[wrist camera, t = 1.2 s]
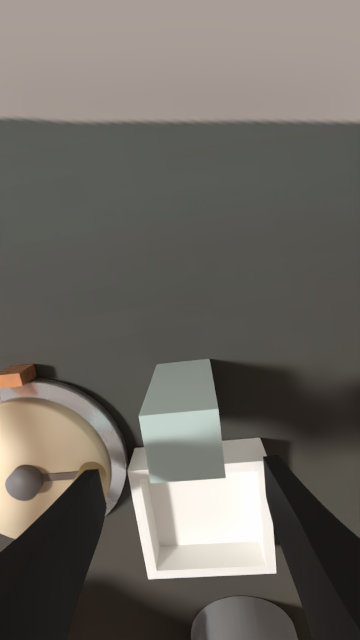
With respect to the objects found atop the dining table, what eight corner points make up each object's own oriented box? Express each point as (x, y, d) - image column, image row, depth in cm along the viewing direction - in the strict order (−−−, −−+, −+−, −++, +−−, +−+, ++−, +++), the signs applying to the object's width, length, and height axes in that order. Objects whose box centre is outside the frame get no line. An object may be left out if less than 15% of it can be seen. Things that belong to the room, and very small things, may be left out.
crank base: (140, 519, 23) (136, 540, 22) (-11, 528, 24) (-27, 549, 23) (109, 355, 20) (101, 364, 18) (-62, 374, 21) (-85, 384, 19)
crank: (-14, 532, 23) (-70, 605, 18) (-57, 404, 20) (-135, 449, 16) (133, 523, 22) (116, 597, 17) (106, 388, 20) (78, 430, 15)
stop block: (214, 407, 21) (225, 478, 14) (164, 411, 21) (150, 483, 14) (209, 358, 20) (218, 408, 13) (156, 364, 20) (138, 416, 13)
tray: (267, 540, 23) (276, 573, 21) (152, 546, 24) (148, 579, 21) (259, 437, 21) (268, 460, 19) (134, 447, 22) (127, 471, 19)
